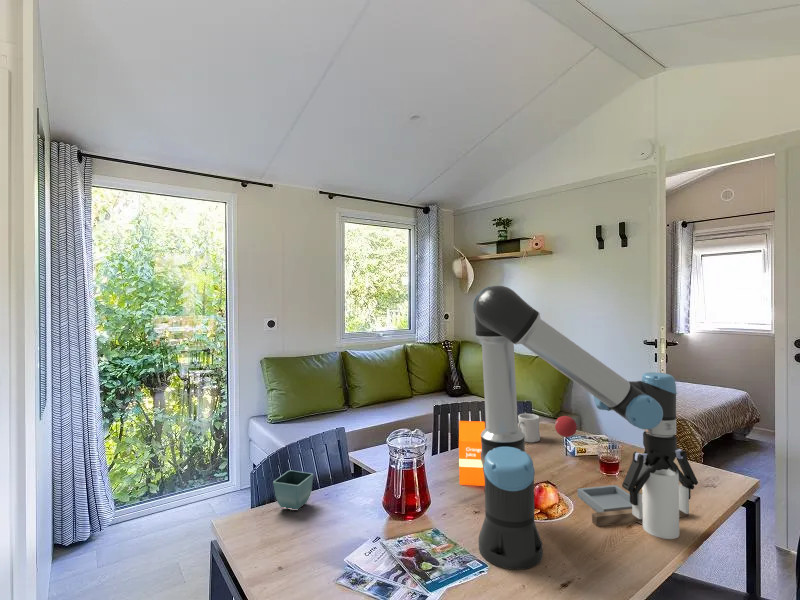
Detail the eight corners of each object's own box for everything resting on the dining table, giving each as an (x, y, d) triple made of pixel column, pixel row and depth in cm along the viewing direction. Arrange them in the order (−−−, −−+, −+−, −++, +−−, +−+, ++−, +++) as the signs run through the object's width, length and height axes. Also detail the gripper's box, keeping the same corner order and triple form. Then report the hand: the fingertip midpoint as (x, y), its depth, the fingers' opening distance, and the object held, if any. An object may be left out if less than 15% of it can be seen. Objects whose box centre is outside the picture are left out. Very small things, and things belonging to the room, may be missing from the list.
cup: (685, 540, 109) (684, 477, 108) (649, 537, 110) (648, 475, 110) (671, 523, 117) (670, 464, 116) (638, 520, 118) (637, 462, 118)
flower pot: (299, 516, 124) (298, 485, 124) (272, 512, 127) (272, 481, 127) (314, 502, 133) (314, 473, 133) (289, 498, 136) (289, 469, 135)
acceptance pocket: (603, 517, 120) (603, 509, 120) (577, 496, 133) (577, 488, 133) (645, 513, 122) (645, 504, 122) (615, 492, 135) (615, 484, 135)
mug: (525, 434, 192) (525, 412, 191) (544, 439, 185) (544, 416, 184) (509, 441, 184) (508, 417, 183) (527, 446, 177) (527, 422, 177)
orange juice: (486, 486, 141) (485, 425, 141) (459, 484, 143) (458, 424, 143) (485, 476, 149) (484, 418, 149) (459, 474, 151) (458, 417, 150)
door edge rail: (596, 526, 116) (596, 516, 116) (592, 522, 118) (592, 513, 118) (688, 515, 120) (688, 506, 120) (683, 512, 122) (683, 503, 122)
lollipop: (562, 450, 172) (561, 412, 172) (580, 455, 166) (580, 416, 166) (551, 455, 167) (551, 416, 167) (570, 460, 161) (569, 420, 161)
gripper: (625, 441, 107) (627, 526, 108) (713, 434, 111) (714, 516, 112) (606, 431, 115) (607, 511, 115) (689, 425, 119) (690, 502, 119)
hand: (660, 514), depth 113 cm, fingers open, 13 cm apart
